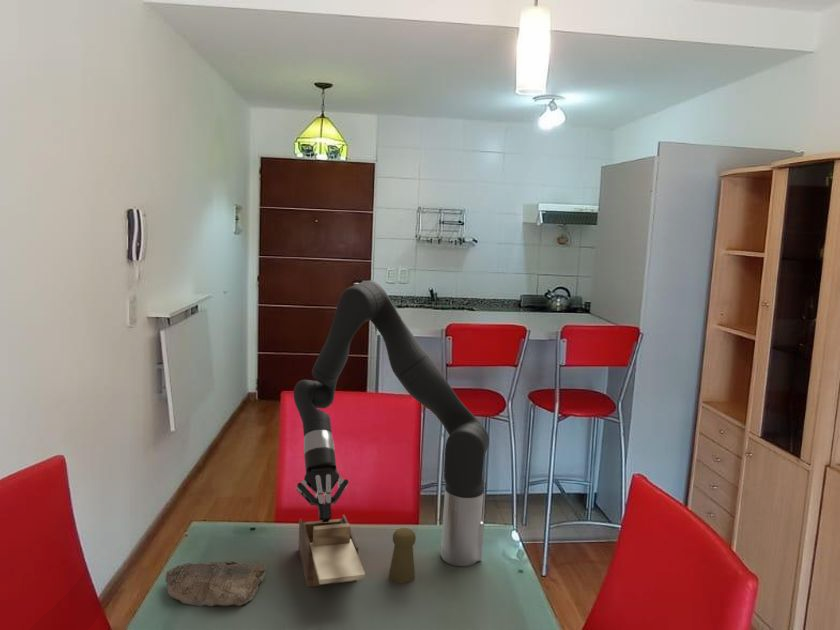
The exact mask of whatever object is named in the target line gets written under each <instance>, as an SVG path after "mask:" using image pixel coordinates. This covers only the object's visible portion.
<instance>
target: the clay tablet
mask: <svg viewBox="0 0 840 630" xmlns="http://www.w3.org/2000/svg"><path fill="white" fill-rule="evenodd" d="M266 570H267V568H266V566H265V565H264V564H261V563H258V562H252V563H251V562H249V563H246V562H245V563H239V562H234V561H219V562H218V561H214V562H213V561H211V562H209V563H208V562H204V563H203V562H202V563H201V562H199V563H190V562H189V563H184V564H181V565H178V566H175V567H173V568H172V569H169V570H167V571H166V572H165V573H166V575H165V582H166V583H167V585H166V590H167V593H168V594H169V596H170V597H172V599H175V600H176V601H177V600H178V601H180V603H181V604H184V605H193V606H197V607H201V606H202V607H204V606H208V607H215V606H242V605H246V604H247V603H248V602H249V601H252V600H253V599H254V597H256V594H257V592H258V591H259V586H258V585H260V584H261V583H262V582H263V581H264V579H265V577H266V573H265V572H266Z"/></svg>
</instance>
